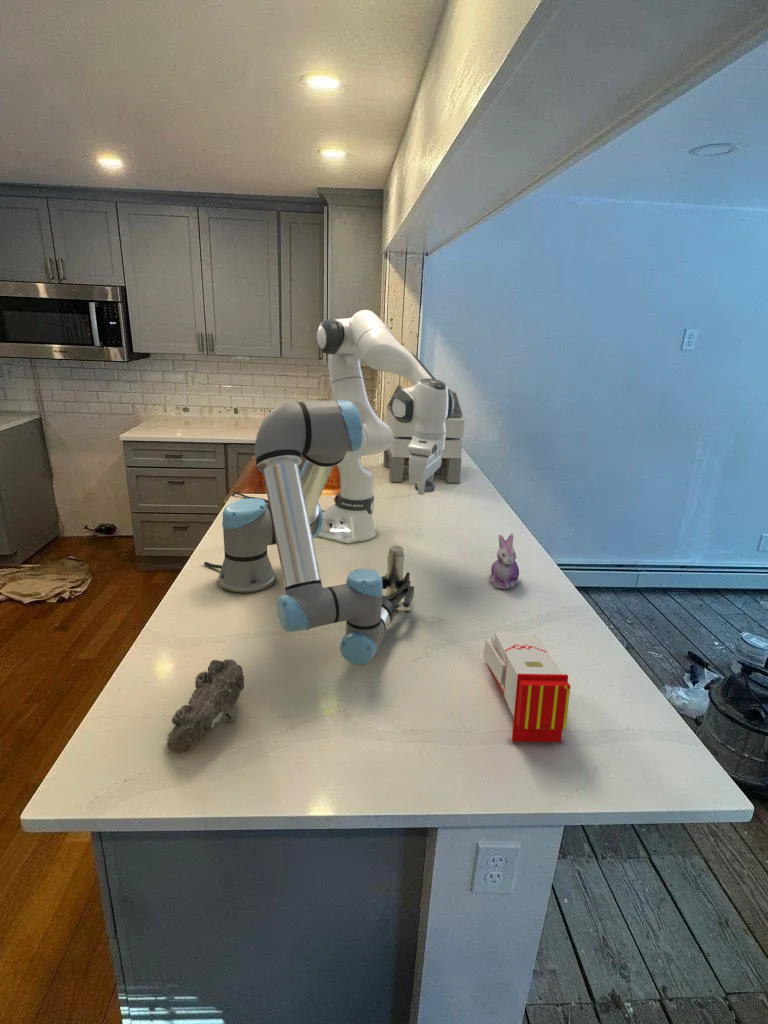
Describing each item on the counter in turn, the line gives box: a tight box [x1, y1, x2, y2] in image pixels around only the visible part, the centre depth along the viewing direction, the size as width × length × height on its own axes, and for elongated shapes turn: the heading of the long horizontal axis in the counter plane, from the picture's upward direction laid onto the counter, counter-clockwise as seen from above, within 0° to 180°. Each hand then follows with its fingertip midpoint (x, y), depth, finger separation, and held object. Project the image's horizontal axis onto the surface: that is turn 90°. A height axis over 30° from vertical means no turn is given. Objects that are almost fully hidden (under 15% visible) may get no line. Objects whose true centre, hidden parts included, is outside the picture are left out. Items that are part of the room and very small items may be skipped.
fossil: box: [166, 658, 245, 754], centre depth 106 cm, size 22×10×15 cm
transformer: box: [383, 384, 465, 484], centre depth 268 cm, size 34×33×41 cm
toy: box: [482, 632, 571, 743], centre depth 116 cm, size 12×13×30 cm
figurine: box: [490, 533, 520, 590], centre depth 164 cm, size 9×10×15 cm
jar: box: [385, 545, 405, 605], centre depth 148 cm, size 4×4×17 cm
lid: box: [414, 481, 436, 494], centre depth 156 cm, size 5×5×2 cm
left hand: (399, 575), depth 154 cm, fingers closed on jar, 4 cm apart
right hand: (424, 490), depth 157 cm, fingers closed on lid, 5 cm apart
